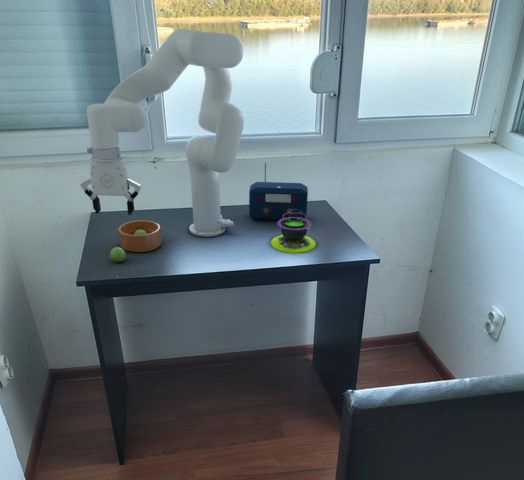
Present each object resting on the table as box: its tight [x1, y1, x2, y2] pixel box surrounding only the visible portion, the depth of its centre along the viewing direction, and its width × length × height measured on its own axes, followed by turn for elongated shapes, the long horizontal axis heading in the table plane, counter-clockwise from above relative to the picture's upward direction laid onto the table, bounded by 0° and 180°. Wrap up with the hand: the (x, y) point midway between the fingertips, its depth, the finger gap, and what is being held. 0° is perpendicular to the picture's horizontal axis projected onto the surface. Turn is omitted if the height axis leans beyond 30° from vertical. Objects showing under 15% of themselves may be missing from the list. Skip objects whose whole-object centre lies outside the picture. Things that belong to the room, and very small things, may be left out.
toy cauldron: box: [270, 209, 316, 254], centre depth 172 cm, size 15×15×11 cm
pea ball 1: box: [109, 246, 126, 263], centre depth 160 cm, size 5×5×5 cm
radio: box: [248, 162, 309, 222], centre depth 188 cm, size 21×9×20 cm, turn 87°
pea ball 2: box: [134, 230, 147, 235], centre depth 170 cm, size 5×5×5 cm
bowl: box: [118, 219, 163, 253], centre depth 170 cm, size 13×13×6 cm
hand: (114, 212), depth 154 cm, fingers open, 9 cm apart
